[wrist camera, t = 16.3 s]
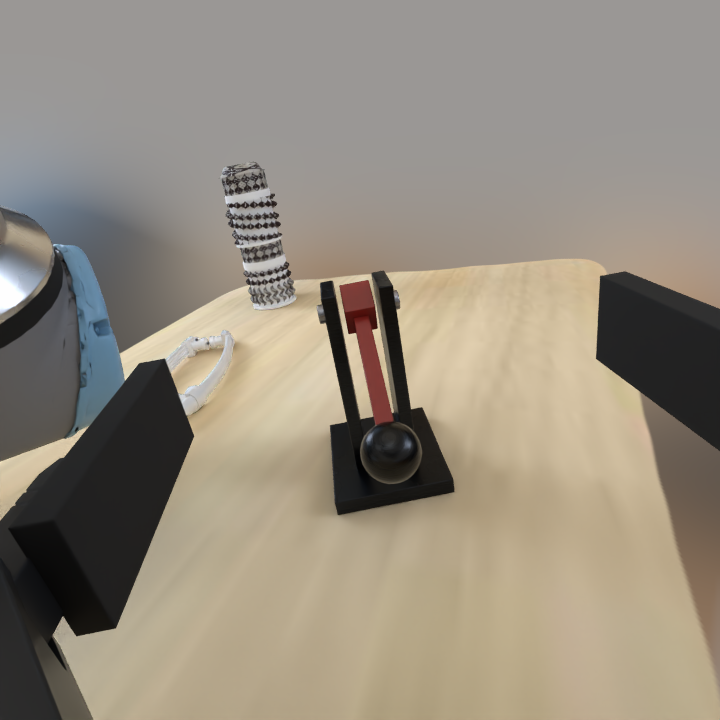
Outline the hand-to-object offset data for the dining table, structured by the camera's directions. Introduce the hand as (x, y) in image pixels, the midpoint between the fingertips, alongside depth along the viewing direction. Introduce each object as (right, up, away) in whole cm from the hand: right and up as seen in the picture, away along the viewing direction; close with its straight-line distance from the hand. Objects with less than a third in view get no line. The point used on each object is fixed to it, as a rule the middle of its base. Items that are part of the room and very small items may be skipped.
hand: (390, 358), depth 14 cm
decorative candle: (-17, +11, +77) cm, 80 cm away
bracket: (+1, -9, +27) cm, 28 cm away
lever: (0, -2, +18) cm, 19 cm away
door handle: (-23, -3, +50) cm, 55 cm away
